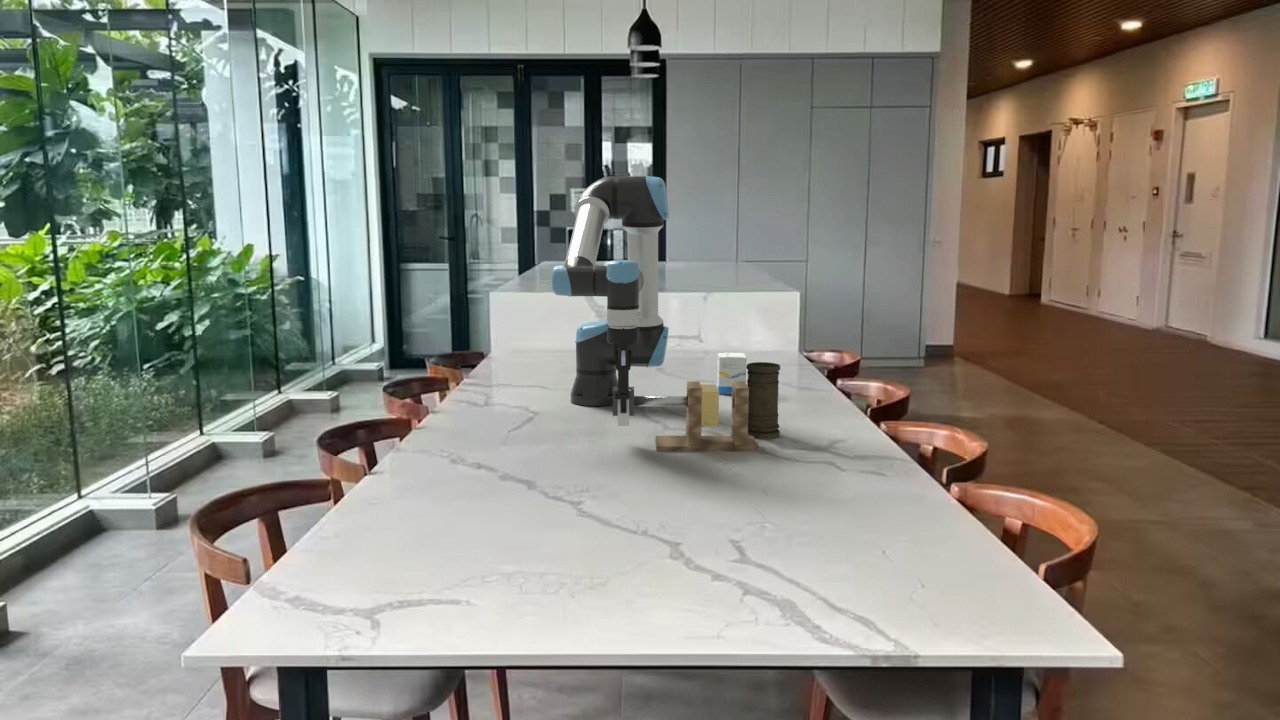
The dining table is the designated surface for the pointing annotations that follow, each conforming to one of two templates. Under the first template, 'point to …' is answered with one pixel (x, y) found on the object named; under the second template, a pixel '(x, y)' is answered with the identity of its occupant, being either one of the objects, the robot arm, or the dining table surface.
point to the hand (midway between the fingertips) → (623, 422)
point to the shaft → (648, 401)
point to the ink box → (730, 371)
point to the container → (763, 400)
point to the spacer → (710, 406)
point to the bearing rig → (712, 443)
